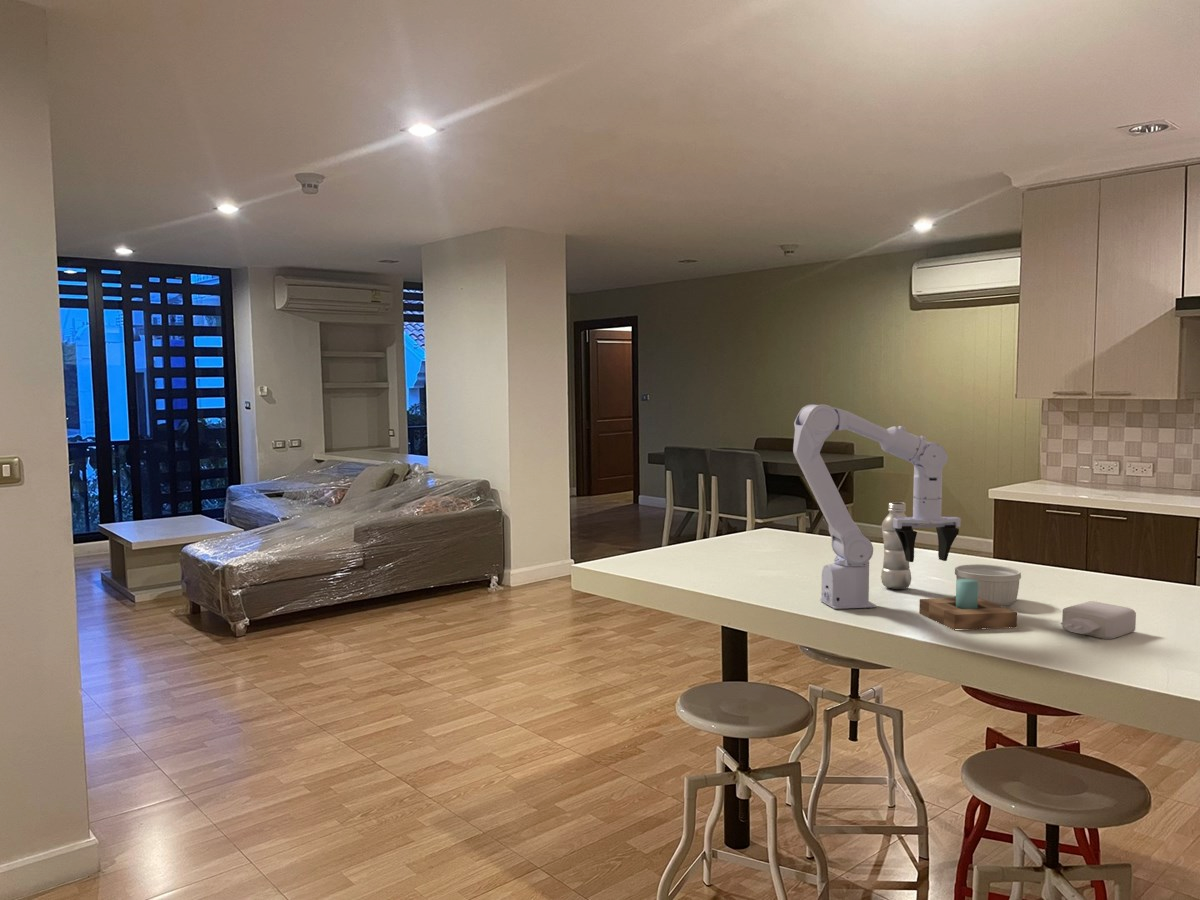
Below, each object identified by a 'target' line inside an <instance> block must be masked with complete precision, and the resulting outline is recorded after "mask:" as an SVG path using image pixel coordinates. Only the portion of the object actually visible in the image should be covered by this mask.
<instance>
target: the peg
mask: <svg viewBox="0 0 1200 900" xmlns="http://www.w3.org/2000/svg"><path fill="white" fill-rule="evenodd" d="M955 581H956V583H955V586H956V588H955V598H956V607H957V608H960V609H978V581H977V580H973V579H957V578H956V580H955Z"/></svg>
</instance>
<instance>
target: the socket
mask: <svg viewBox="0 0 1200 900" xmlns="http://www.w3.org/2000/svg"><path fill="white" fill-rule="evenodd" d="M918 606H919V607H918V608H919V610H918V611H919V612H918V613H920V615H921V614H922V616H924V617H925V618H928V619H930V620H932V621H934V622H936V621H937V622H936V623H938V622H939V623H938V624H940V623H941V625H942V624H943V626H944V625H945V626H944V627H946V626H947V627H946V628H948V627H950V628H949V629H951V628H952V629H951V630H953V629H954V630H953V631H956V630H955V629H973V630H983V629H982V628H986V629H985V630H988V629H987V628H995V629H1010V628H1011V627H1017V628H1018V611H1015V610H1013V609H1010V608H1007V607H1005V606H1000V605H998V604H995V603H993V602H990V601H987V600H985V599H982V598H980V597H978V609H960V608H957V607H956V597H941V598H940V597H939V598H919V605H918ZM1009 627H1010V628H1009ZM1011 629H1012V628H1011Z"/></svg>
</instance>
